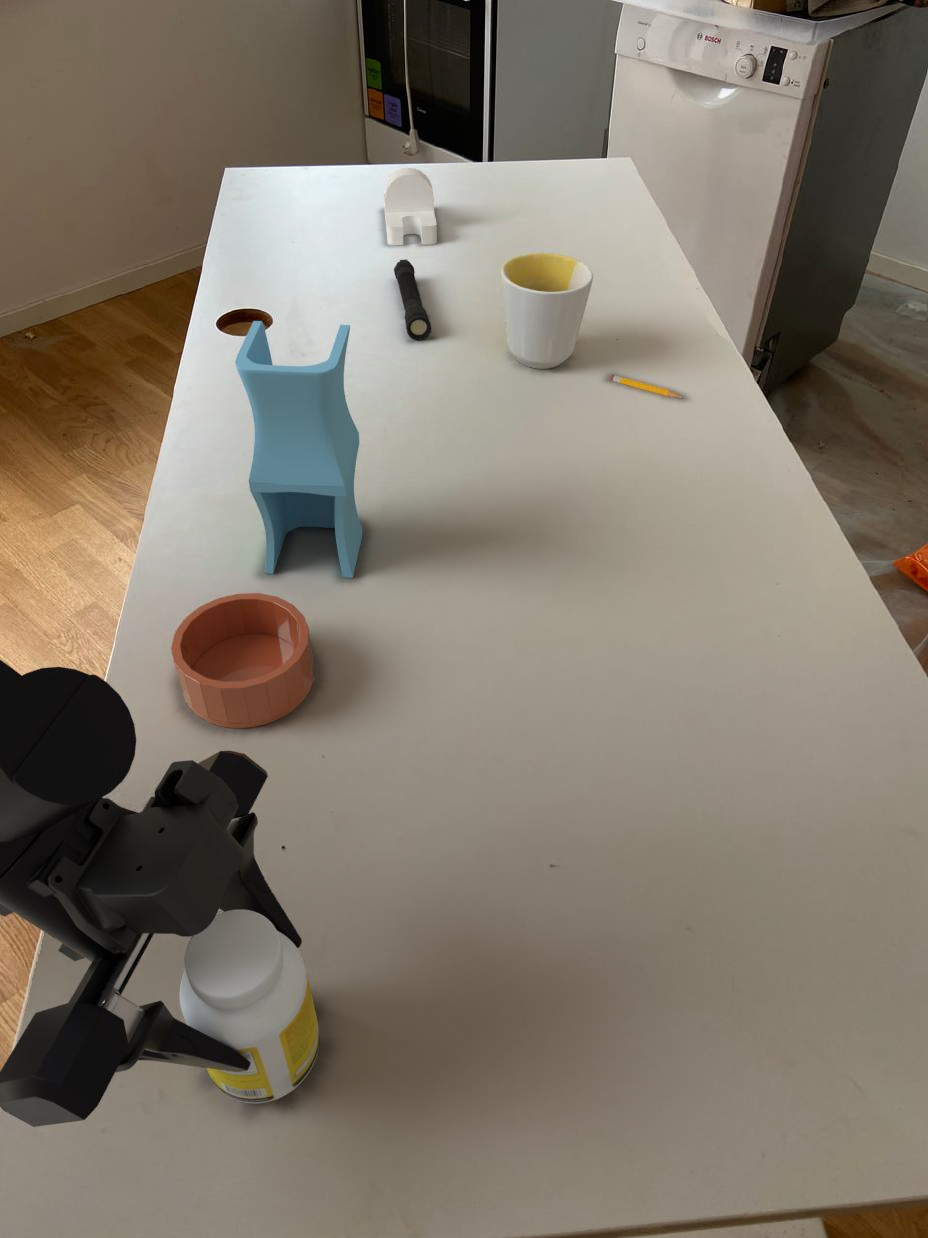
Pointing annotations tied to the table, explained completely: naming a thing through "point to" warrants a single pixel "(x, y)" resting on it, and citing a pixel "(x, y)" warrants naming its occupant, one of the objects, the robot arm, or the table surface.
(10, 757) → the robot arm
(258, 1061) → the pill bottle
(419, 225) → the slotted bracket
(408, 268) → the flashlight
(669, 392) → the pencil
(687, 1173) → the table surface
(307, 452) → the stacked u-channel piece
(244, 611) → the bowl
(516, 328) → the mug
